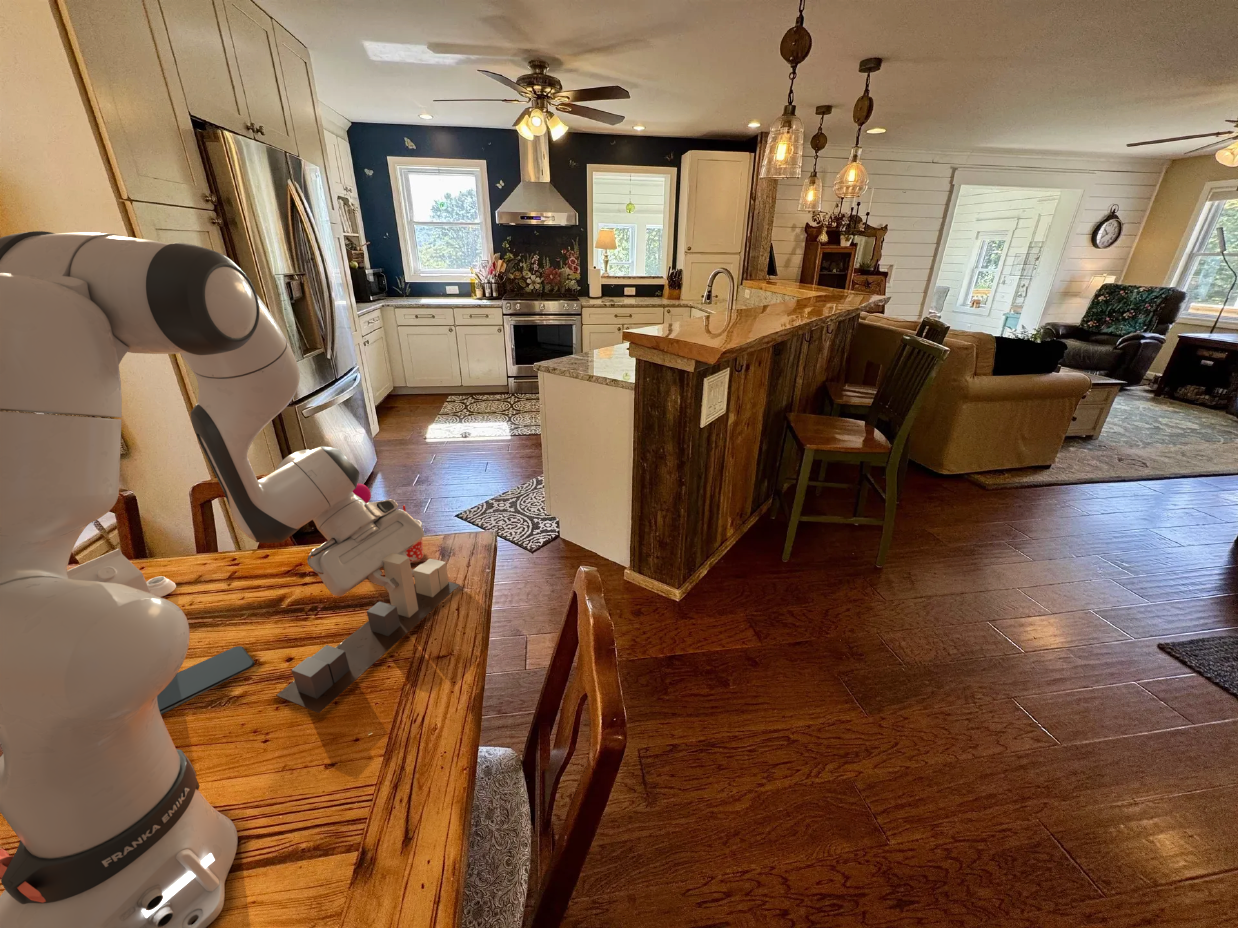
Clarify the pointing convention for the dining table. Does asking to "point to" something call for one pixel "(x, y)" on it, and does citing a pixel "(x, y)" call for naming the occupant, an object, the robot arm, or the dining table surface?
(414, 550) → the beverage cup
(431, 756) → the dining table surface
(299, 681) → the dark grey block row
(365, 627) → the shelf plank
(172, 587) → the lidless jar
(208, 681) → the smartphone
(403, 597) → the tall white block
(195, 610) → the dining table surface
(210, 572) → the dining table surface
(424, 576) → the cream white block
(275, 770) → the dining table surface
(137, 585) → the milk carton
